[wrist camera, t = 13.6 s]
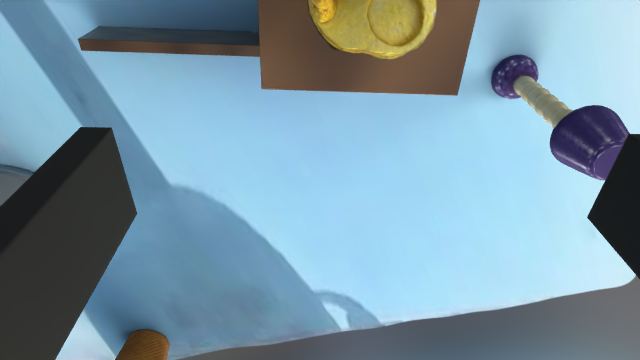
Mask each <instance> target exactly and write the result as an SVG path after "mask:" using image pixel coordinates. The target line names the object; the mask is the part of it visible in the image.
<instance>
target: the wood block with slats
mask: <svg viewBox="0 0 640 360" xmlns="http://www.w3.org/2000/svg"><path fill="white" fill-rule="evenodd" d="M257 2H258V23H259V32H242V31H214V30H187V29H159V28H131V27H103V26H99V27H97V28H96V29H94V30H92V31H91V32H89V33H87V34H86V35H84V36H82V37H80V38H79V39H78V40H79V44H80V47H81V50H83V51H111V52H140V53H169V54H197V55H226V56H255V57H260V64H261V85H262V89H276V90H306V91H336V92H366V93H396V94H426V95H456V96H457V95H458V90H459V86H460V82H461V78H462V74H463V69H464V65H465V61H466V57H467V53H468V48H469V44H470V40H471V36H472V32H473V27H474V23H475V19H476V15H477V11H478V6H479V2H480V0H437V10H436V17H435V19H434V27H433V29H432V30H431V32H430V33H429V34H428V36H427V37H426V39H425V40H424V42H423V43H422V44H421V45H420V46H419V47H418V48H417V49H415V50H410V52H408V53H407V54H405V55H404V56H402V57H399V58H396V59H394V60H387V59H381V60H380V59H378V58H375V57H371V56H369V55H367V54H364V53H349V52H344V51H342V50H334V49H332V48H331V47H330V46H329V44H328V43H327V42H326V41H325V40H324V39H323V38H322V36H321V35H320V34H319V33H318V31H317V29H316V26H315V25H314V23H313V21H312V19H311V17H310V14H309V11H308V0H257Z"/></svg>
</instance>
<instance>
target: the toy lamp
mask: <svg viewBox="0 0 640 360" xmlns="http://www.w3.org/2000/svg"><path fill="white" fill-rule="evenodd" d="M537 79H538V69H537V66H536V64H535V62H534V61H533V60H532V59H531V58H529V57H527V56H523V55H514V56H511V57H509V58H507V59H505V60H503V61H502V62H501V63H500V64H499V65H498V66H497V67H496V69H495V70H494V72H493V75H492V80H491V83H492V88H493V90H494V91H495V92H496V93H497V94H498V95H499V96H501V97H504V98H508V99H515V98H520V97H522V99H523V100H525V101H526V102H528V104H529V105H530V106H531V107H532V108H534V109H535V111H536V112H537V113H538V114H539V115H541V116H543V118H544V119H545V120H546V121H547V122H548V123H550V124H552V126H553V128H554V129H553V132H552V134H551V138H550V148H551V152H552V154H553V155H554V157H555V158H556V159H557V160H558V161H560V162H561V163H563V164H565V165H567V166H569V167H571V168H573V169H575V170H577V171H580V172H582V173H584V174H586V175H588V176H590V177H593V178H595V179H598V180H606V178H607V176H608V174H609V172H610V170H611V168H612V166H613V164H614V162H615V160H616V158H617V156H618V154H619V152H620V150H621V148H622V146H623V144H624V142H625V140H626V138H627V136H628V134H630V133H629V132H628V130H627V128H626V127H625V125H624V124H623V122H622V120H621V119H620V117H619V116H618V115H617V114H616V113H615V112H614V111H612V110H611V109H609V108H607V107H604V106H599V105H592V106H585V107H582V108H579V109H576V110H574V111H573V110H570V109H568V107H567V106H566V105H565V104H564V103H562V102H559V100H558V99H557V98H556V97H555V96H554V95H551V94H550V92H549V91H548V90H547V89H545V88H542V86H541V85H540V84H539V83H537Z"/></svg>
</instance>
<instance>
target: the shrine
mask: <svg viewBox="0 0 640 360" xmlns="http://www.w3.org/2000/svg"><path fill="white" fill-rule="evenodd" d="M436 10H437V0H308V11H309V14H310V17H311V19H312V21H313V23H314V25H315V26H316V29H317V31H318V33H319V34H320V35H321V36H322V38H323V39H324V40H325V41H326V42H327V43H328V44H329V46H330V47H331V48H332V49H334V50H342V51H344V52H349V53H364V54H367V55H369V56H371V57H375V58H378V59H380V60H381V59H387V60H394V59H396V58H399V57H402V56H404V55H405V54H407V53H408V52H410V50H415V49H417V48H418V47H419V46H420V45H421V44H422V43H423V42H424V40H425V39H426V37H427V36H428V34H429V33H430V32H431V30H432V29H433V27H434V19H435V17H436Z"/></svg>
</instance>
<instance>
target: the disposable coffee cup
mask: <svg viewBox="0 0 640 360" xmlns="http://www.w3.org/2000/svg"><path fill="white" fill-rule="evenodd" d="M169 345H170V344H169V341H168V340H167V338H166V337H165V336H163V335H162V334H160V333H157V332H154V331H150V330H139V331H135V332H133V333H131V334H130V336H129V337H128V339H127V341H126V342H125V344H124V346H123V347H122V349H121V350H120V352H119V354H118V356H117V357H116V359H115V360H167V355H168V350H169Z"/></svg>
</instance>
